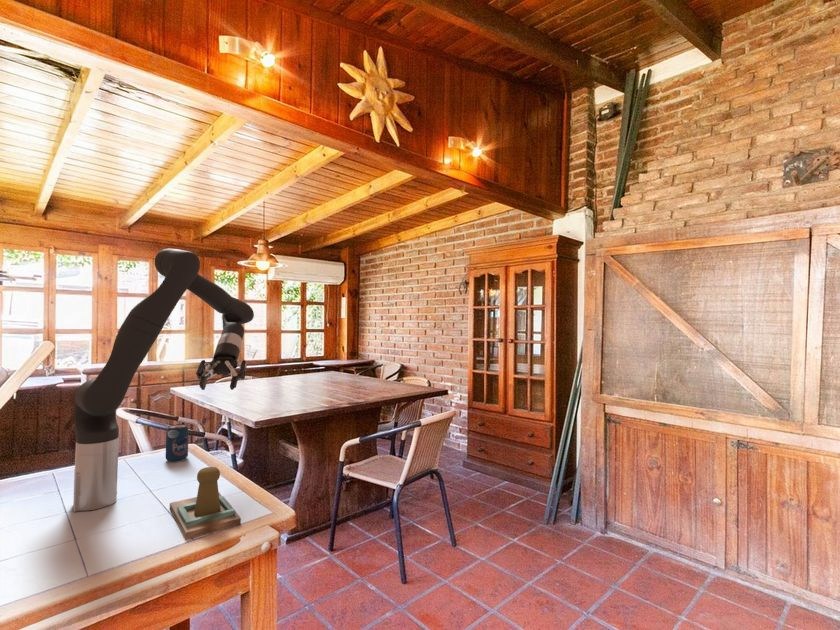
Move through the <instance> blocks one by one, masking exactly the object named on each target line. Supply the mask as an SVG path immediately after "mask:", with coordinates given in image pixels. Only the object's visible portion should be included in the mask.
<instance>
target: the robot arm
mask: <svg viewBox="0 0 840 630" xmlns="http://www.w3.org/2000/svg"><path fill="white" fill-rule="evenodd" d="M154 267H155V269H156V271H157V272H158V273H159V275H161V276H163V277H164V279H163V281H162V282H161V283H160V285H159V286H158V287H157V288H156V289H155V291H154V290H153V292H152V293H150V294H149V295H148V296H146V297H145V298H144V299H143V300H140V301H139V302H138V303H137V304H136V305H135V306H134V307H133V308H131V310H130V311H129V312H128V314H127V316H126V317H125V319H124V320H123V321H122V324H121V326H120V327H119V329H118V331H117V334H116V336H115V339H114V342H113V345H112V348H111V349H112V350H111V352H110V355H109V358H108V360H107V362H106V363H105V365H104V366H103V368H102V370H101V371H100V372H99V374H98V375H97V377H96V378H91V379H88V380H87V381H85V382H83V383H82V384H80V385H79V387H78V388H77V389H76V392H75V396H74V404H73V406H74V408H73V409H74V410H73V411H74V413H73V415H74V416H73V420H74V421H73V422H74V423H73V427H74V432H75V433H74V434H75V453H74V455H75V456H74V457H75V458H74V476H73V477H74V479H73V502H72V503H73V505H72V506H73V507H72V508H73V512H80V511H81V512H86V511H93V510H99V509H103V508H106V507H108V506H111V505H112V504H114V503H116V502H117V499H118V466H119V442H120V441H119V439H120V438H119V435H120V433H119V432H120V431H119V430H120V428H119V424H118V422H117V415H116V413H117V412H116V411H117V409H119V407H120V406H121V404H122V403H123V402H124V399H125V397H126V394H127V392H128V390H129V387H130V385H131V383H132V380H133V378H134V376H135V374H136V373H137V370H138V369H139V368H140V365H141V364H142V362H144V359H146V356H148V354H149V351H150V350H151V348H152V347H153V345H154V343H155V342H156V340H157V339H158V337H159V335H160V334H161V332H162V330H163V328H164V326H165V325H166V323H167V321H168V319H169V317H170V316H171V314H172V312H173V311H174V310H175V308H176V305H177V304H178V302H179V301H180V300H181V299H182V297H183V295H184V294H185V293H186V291H189V292H190V293H192V294H193V295H196V296H197V297H198V298H200V299H201V301H203V302H205V303H206V304H207V305H208V306H209V307H211V308H212V309H213V310H214V311H216V312H217V313H219V314H222V316H221V320H222V331H221V334H220V337H219V339H218V341H217V344H216V348H215V351H214V354H213V356H212V360H210V361H206V359H202V360H200V364H199V365H198V368H197V370H196V372H195V375H196V377H197V379H198V380H199V388H200V389H201V391H204V390H205V389H206V387H207V386H206V385H207V383H208V380H209V379H210V378H213V377H214V376H216V375H217V376H221V375H223V376H224V375H225V376H228V375H230V376H231V380H230V384H229V388H230V390H234V389H236V388H237V385H238V381H239V380H244V379H246V374H247V373H246V372H247V366H248V365H247V362H246V360H245V359H244V360H242V361H239V357H240V353H241V351H242V345H243V339H244V334H245V328H244V326H243V325H244V324H248V323H250V322H252V321H253V319H254V317H255V313H254V310H253V308H252V307H251V306H250V304H249V303H247V302H245V301H242V300H240V299H238V298H236V297H233V296H232V295H230V294H229V293H228V292H227V291H226V290H225V289H224V288H222V287H221V286H219V285H218V284H216V283H215V282H213V281H211V280H209V279H208V278H206V277H204V276H202V275H200V274H199V271H200V268H201V261H200V258H199V256H198V254H196V253H194V252H192V251H189V250H183V249H178V248H164V249H161V250H160V251H159V252H157V254H156V255H155V257H154ZM238 361H239V362H238ZM238 367H239V369H240V370H239V373H238V372H237V371H236V370H237V368H238Z"/></svg>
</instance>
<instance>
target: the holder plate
mask: <svg viewBox="0 0 840 630" xmlns="http://www.w3.org/2000/svg"><path fill="white" fill-rule="evenodd" d="M196 500H197V496H196V497H191V498H187V499H182V500H177V501H172V502H170V503H169V510H170V512H171V514H172V516H173V518H174V520H175V522H176V523H177V526H178V527H179V529H180V532H181V533H182V535H183V537H184V538H185V540H189V539H192V538H196V537H200V536H202V535H206V534H210V533H214V532H217V531H222V530H225V529H228V527H229V528H233V527H235V526H239V524H240V525H241V523H242V522H241V520H242V518H241V517H240V515H239V514H238V513H237V512H236V509H235V508H234V507H233V506H232V504H231V503H230V502H229V501H228V500H227V499H226V497H225V496H224V495H222V494H221V493H220V492H219V500H220V509H221V511H220V512H217V513H213V514H209V515H205V516H201V517H195V516H194V512H195V506H196Z"/></svg>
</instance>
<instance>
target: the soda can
mask: <svg viewBox="0 0 840 630" xmlns="http://www.w3.org/2000/svg"><path fill="white" fill-rule="evenodd" d="M189 430H190V429H189V427H188V425H187V424H185V423H178V424H172V425H169V426H168V427H167V430H166V432H165V433H166V434H165V460H167V462H168V463H180V462H183V461H184V462H185V460H186V459H187V458H188V455H189V434H190V433H189Z"/></svg>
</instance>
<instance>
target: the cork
mask: <svg viewBox="0 0 840 630" xmlns="http://www.w3.org/2000/svg"><path fill="white" fill-rule="evenodd" d="M219 469H220V468H218V467H215V466H208V467H207V466H206V467H204V468H203V467H202V468H201V469H200V470H198V472H197V474H196V481H197V482H198V487H197V488H198V489H197V493H196V494H197V496H196V497H197V500H196V506H195V512H194V516H195V517H201V516H205V515H209V514H213V513H217V512H220V511H221V509H220V500H219V493H220V491H219V484H218V480H219V479H220V477H221V473H220V470H219Z"/></svg>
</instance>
